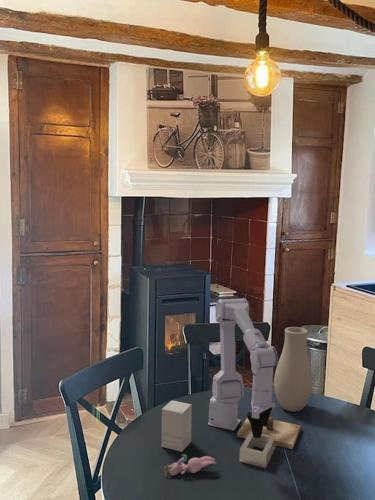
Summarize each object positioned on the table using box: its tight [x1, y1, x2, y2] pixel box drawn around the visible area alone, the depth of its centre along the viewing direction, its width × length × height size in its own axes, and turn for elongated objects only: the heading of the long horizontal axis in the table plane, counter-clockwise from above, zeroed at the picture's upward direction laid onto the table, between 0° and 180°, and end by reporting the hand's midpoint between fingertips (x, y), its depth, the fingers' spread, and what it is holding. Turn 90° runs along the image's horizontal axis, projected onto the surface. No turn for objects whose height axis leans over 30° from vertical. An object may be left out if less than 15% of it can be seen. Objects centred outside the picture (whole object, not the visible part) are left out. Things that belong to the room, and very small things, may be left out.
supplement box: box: [161, 400, 193, 453], centre depth 160 cm, size 7×7×13 cm
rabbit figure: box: [163, 453, 217, 477], centre depth 145 cm, size 6×6×15 cm
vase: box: [273, 326, 314, 412], centre depth 186 cm, size 14×14×30 cm
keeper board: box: [236, 416, 302, 450], centre depth 169 cm, size 18×14×6 cm
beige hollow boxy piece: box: [238, 431, 276, 469], centre depth 155 cm, size 8×12×4 cm, turn 157°
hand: (260, 431), depth 151 cm, fingers open, 7 cm apart
